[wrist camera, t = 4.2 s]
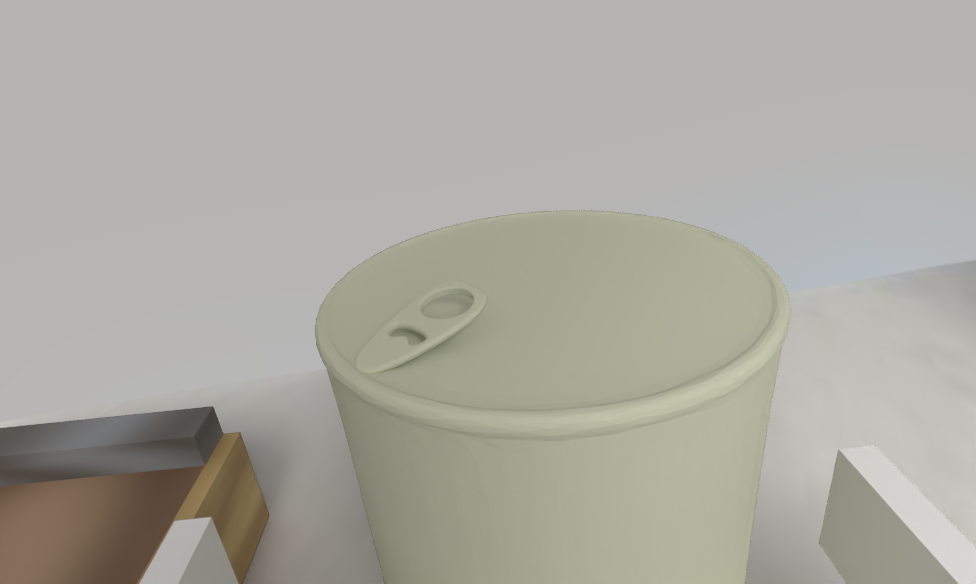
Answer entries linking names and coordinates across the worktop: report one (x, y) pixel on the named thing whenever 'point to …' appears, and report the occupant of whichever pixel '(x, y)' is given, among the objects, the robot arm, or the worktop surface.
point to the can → (558, 399)
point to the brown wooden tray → (120, 495)
